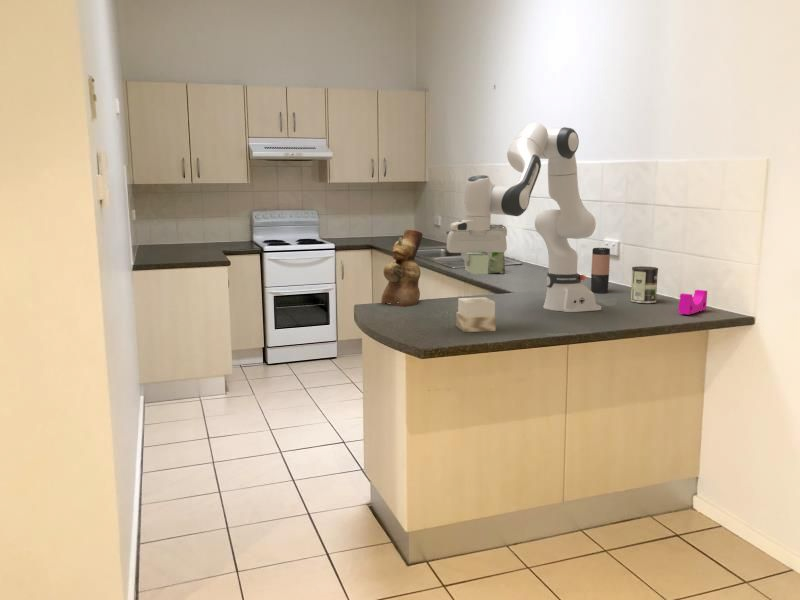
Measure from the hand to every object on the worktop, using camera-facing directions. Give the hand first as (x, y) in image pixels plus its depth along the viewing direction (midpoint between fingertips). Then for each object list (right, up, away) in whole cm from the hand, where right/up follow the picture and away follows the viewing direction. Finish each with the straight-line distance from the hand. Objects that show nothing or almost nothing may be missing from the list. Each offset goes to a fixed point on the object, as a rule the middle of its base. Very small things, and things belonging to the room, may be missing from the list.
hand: (476, 265), depth 236 cm
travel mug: (+64, -9, +77) cm, 100 cm away
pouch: (+25, +2, +142) cm, 145 cm away
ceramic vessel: (-24, -13, +53) cm, 59 cm away
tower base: (0, -22, +4) cm, 22 cm away
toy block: (+87, -16, +35) cm, 95 cm away
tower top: (0, -17, +3) cm, 17 cm away
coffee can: (+76, -12, +56) cm, 95 cm away
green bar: (0, -2, 0) cm, 2 cm away
